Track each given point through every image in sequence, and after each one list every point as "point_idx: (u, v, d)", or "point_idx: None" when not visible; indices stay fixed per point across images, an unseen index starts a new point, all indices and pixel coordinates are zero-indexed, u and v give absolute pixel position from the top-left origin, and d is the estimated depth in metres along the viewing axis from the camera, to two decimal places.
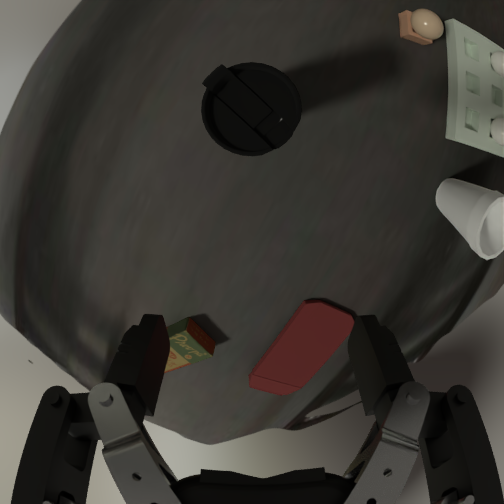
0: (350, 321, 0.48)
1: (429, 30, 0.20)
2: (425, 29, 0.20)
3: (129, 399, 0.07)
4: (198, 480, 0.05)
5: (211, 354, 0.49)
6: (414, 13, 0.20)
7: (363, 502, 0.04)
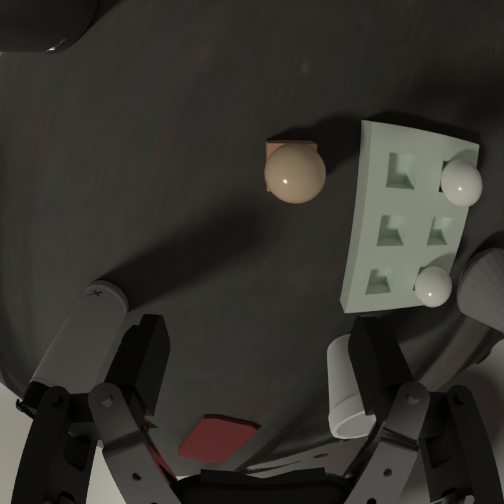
0: (250, 428, 0.49)
1: (287, 199, 0.20)
2: (281, 197, 0.21)
3: (129, 399, 0.07)
4: (198, 480, 0.05)
5: None
6: (267, 163, 0.20)
7: (363, 502, 0.04)
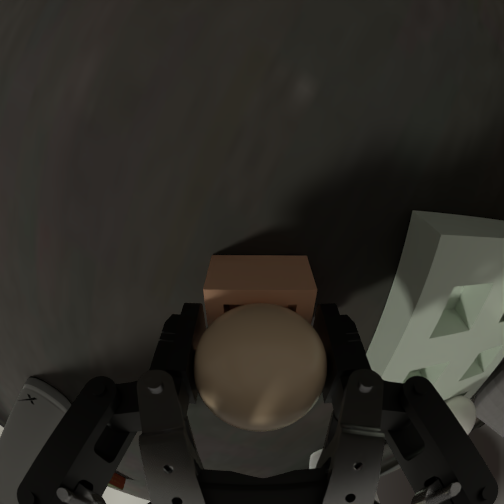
0: None
1: None
2: None
3: (178, 385, 0.08)
4: (198, 480, 0.05)
5: (121, 488, 0.40)
6: (195, 359, 0.09)
7: (341, 499, 0.04)
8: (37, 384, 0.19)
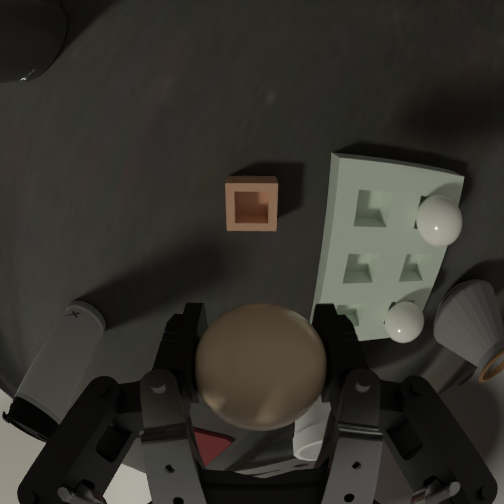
0: (225, 441, 0.50)
1: None
2: None
3: (181, 385, 0.08)
4: None
5: None
6: (195, 359, 0.09)
7: (340, 499, 0.04)
8: (81, 303, 0.31)
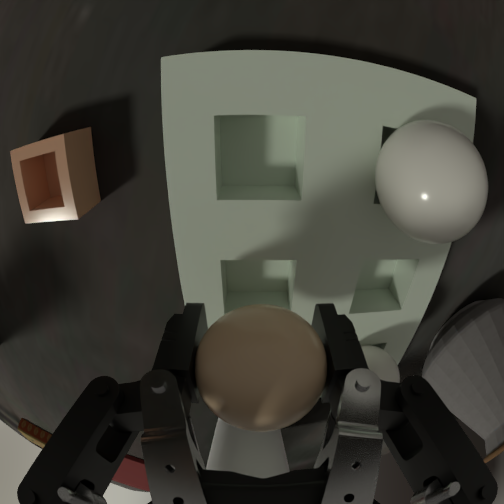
0: None
1: None
2: None
3: (181, 385, 0.08)
4: None
5: None
6: (196, 360, 0.09)
7: (340, 499, 0.04)
8: None
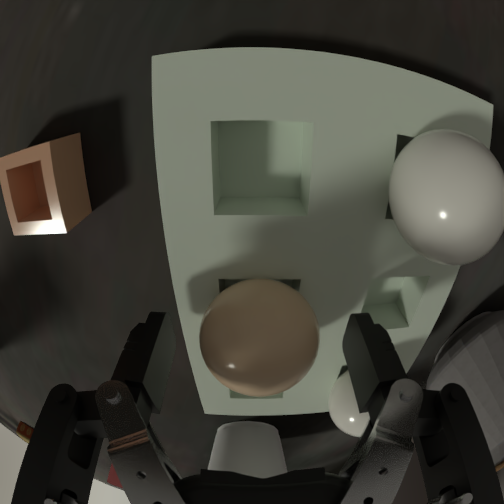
0: None
1: None
2: None
3: (136, 396, 0.07)
4: (198, 480, 0.05)
5: None
6: (201, 327, 0.10)
7: (360, 501, 0.04)
8: None
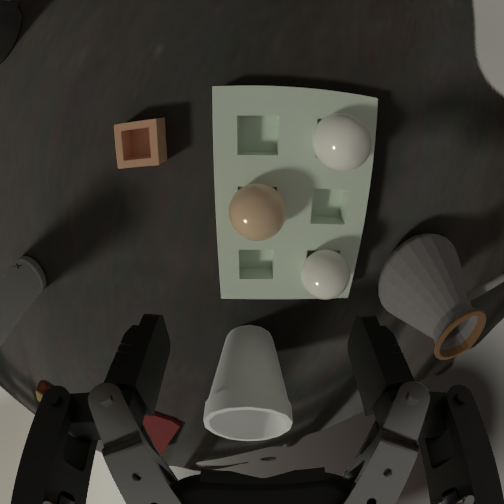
0: (172, 424, 0.49)
1: (247, 238, 0.22)
2: (241, 235, 0.23)
3: (129, 399, 0.07)
4: (198, 480, 0.05)
5: None
6: (230, 203, 0.22)
7: (363, 502, 0.04)
8: (25, 258, 0.30)
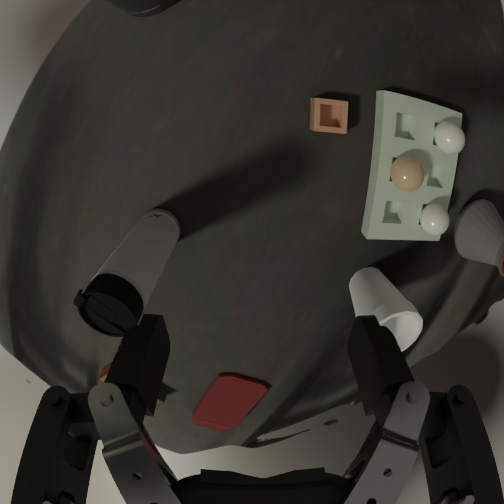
0: (262, 387, 0.58)
1: (405, 188, 0.30)
2: (401, 187, 0.31)
3: (129, 399, 0.07)
4: (198, 480, 0.05)
5: None
6: (395, 165, 0.30)
7: (363, 502, 0.04)
8: (160, 210, 0.37)
